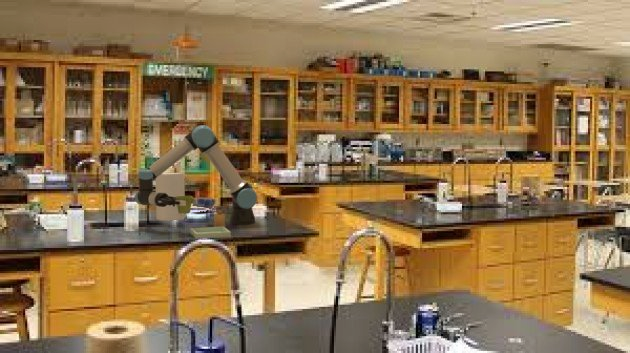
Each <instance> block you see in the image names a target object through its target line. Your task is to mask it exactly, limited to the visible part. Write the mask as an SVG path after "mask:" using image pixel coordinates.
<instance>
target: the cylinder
mask: <svg viewBox="0 0 630 353" xmlns="http://www.w3.org/2000/svg"><path fill="white" fill-rule="evenodd" d="M155 192H159V193H166V194H167V195H168V196H172V197H176V196H186V194H185V192H186V190H185V173H184V172H163V173H162V174H161V175H160V176H158V177H157V178H156V179H155ZM155 217H156V220H157V221H161V222H174V221H173V220H177V221H183V220H185V219H186V214H184V213H182V214H180V213H178V207H177V205H175V206H173V205H171V206H170V205H167V206H165V207H159V206H156V207H155ZM184 218H185V219H184Z"/></svg>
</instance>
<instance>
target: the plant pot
mask: <svg viewBox="0 0 630 353" xmlns="http://www.w3.org/2000/svg"><path fill="white" fill-rule="evenodd" d="M175 198H176V200H183V201H186V206H179V205H177V207H178V213H180V214H182V213H184V214H185V215H186V214H187V215H188V214H190V213H191V209H192V204H191V202H192V198H193V199H194V196H192V195H185V196H176V197H175Z"/></svg>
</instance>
